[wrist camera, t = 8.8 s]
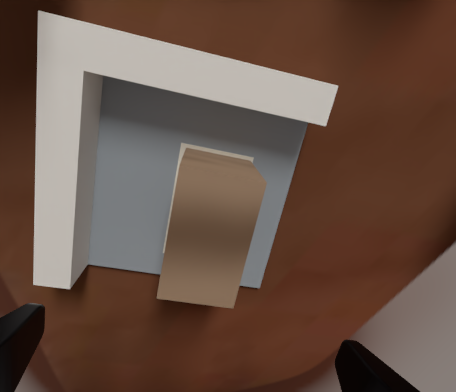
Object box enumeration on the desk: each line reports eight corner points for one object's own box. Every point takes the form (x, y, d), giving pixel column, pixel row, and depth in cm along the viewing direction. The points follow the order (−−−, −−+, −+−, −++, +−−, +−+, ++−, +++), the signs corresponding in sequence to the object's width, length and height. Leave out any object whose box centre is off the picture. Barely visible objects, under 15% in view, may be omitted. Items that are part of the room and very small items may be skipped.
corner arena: (316, 88, 17) (338, 85, 14) (258, 285, 21) (267, 314, 18) (69, 26, 15) (37, 10, 12) (58, 257, 19) (33, 284, 16)
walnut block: (226, 258, 20) (233, 308, 15) (168, 249, 19) (156, 298, 15) (250, 160, 18) (266, 183, 13) (186, 147, 17) (179, 165, 13)
